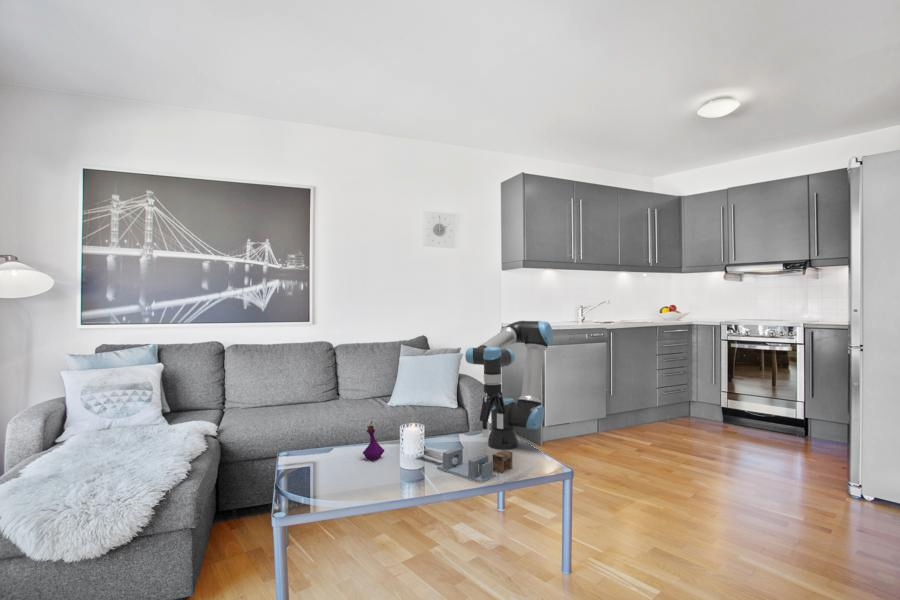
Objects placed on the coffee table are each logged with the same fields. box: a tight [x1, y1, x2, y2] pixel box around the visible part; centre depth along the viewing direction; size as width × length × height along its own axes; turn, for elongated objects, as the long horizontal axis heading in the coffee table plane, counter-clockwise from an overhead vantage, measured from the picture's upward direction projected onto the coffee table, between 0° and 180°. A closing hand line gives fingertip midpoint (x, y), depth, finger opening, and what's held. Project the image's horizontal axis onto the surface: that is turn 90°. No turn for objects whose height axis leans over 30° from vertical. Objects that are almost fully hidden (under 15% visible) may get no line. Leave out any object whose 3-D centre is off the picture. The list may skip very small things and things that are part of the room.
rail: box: [436, 446, 497, 484], centre depth 202 cm, size 10×25×8 cm, turn 48°
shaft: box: [423, 445, 459, 465], centre depth 213 cm, size 5×23×5 cm, turn 48°
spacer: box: [492, 449, 514, 474], centre depth 205 cm, size 8×5×7 cm, turn 138°
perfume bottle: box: [362, 419, 385, 461], centre depth 220 cm, size 8×8×18 cm
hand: (493, 432), depth 202 cm, fingers open, 13 cm apart
